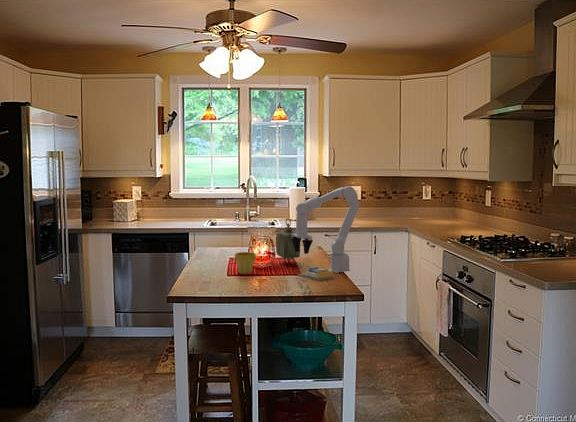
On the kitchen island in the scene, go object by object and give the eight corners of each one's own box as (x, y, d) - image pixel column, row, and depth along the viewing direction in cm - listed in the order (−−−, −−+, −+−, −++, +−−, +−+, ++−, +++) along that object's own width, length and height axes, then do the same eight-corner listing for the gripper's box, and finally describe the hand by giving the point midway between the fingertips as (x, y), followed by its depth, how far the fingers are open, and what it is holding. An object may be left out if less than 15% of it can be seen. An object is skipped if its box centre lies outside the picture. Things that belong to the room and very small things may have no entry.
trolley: (317, 272, 266) (317, 266, 266) (328, 275, 259) (328, 268, 259) (307, 274, 262) (307, 267, 262) (318, 277, 255) (318, 270, 255)
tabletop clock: (300, 265, 292) (300, 219, 289) (284, 266, 288) (284, 220, 286) (290, 260, 305) (290, 217, 303) (275, 261, 302) (275, 217, 299)
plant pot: (255, 270, 277) (255, 251, 276) (255, 274, 267) (255, 255, 266) (235, 270, 277) (235, 251, 276) (234, 274, 267) (234, 255, 266)
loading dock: (312, 272, 272) (312, 265, 272) (333, 277, 260) (333, 270, 259) (297, 274, 266) (297, 267, 266) (317, 280, 254) (317, 273, 253)
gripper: (287, 225, 278) (286, 251, 280) (304, 228, 267) (304, 255, 268) (297, 224, 283) (297, 250, 284) (315, 227, 271) (315, 253, 272)
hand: (301, 252), depth 276 cm, fingers open, 7 cm apart
